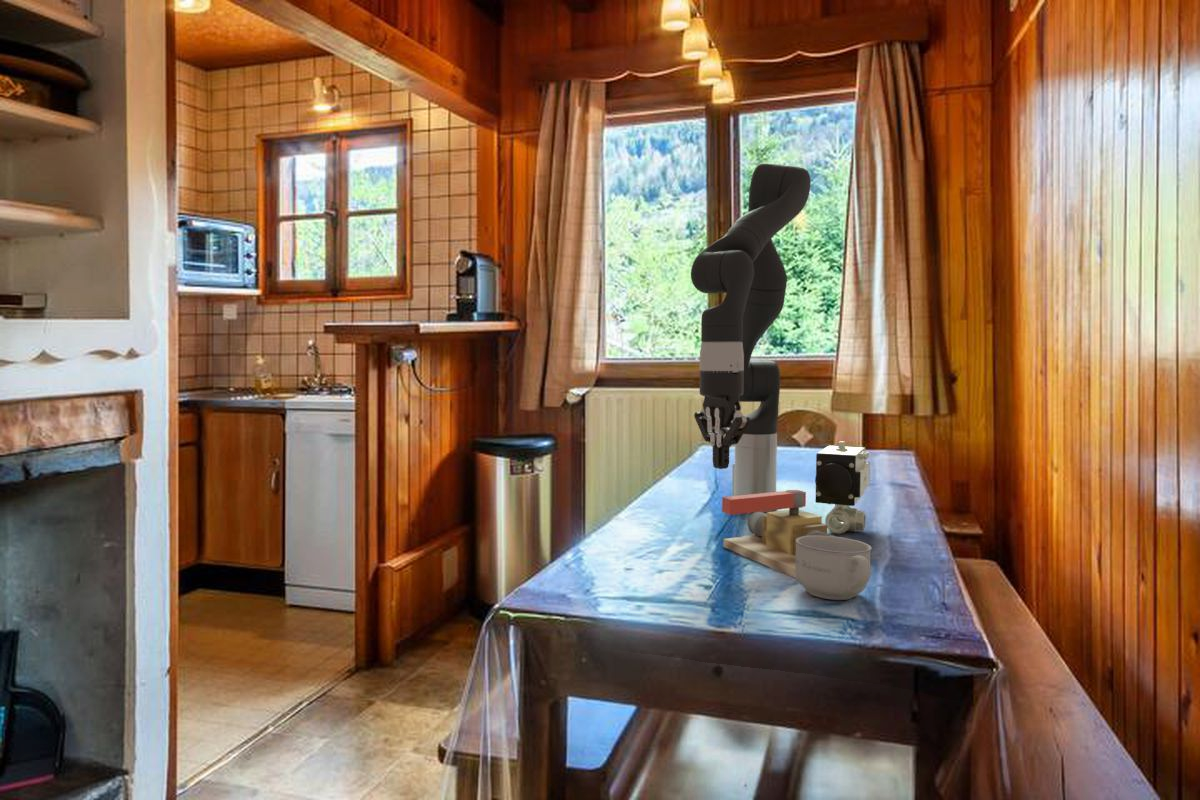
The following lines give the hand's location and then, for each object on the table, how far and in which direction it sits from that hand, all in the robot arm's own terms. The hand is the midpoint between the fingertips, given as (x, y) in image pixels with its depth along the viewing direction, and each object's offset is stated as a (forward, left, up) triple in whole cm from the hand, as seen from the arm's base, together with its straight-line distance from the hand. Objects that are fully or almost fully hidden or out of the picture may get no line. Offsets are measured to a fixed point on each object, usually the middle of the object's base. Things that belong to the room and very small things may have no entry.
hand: (720, 468), depth 135 cm
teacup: (+26, +3, -16) cm, 30 cm away
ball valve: (-5, +32, -16) cm, 36 cm away
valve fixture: (+6, +11, -16) cm, 20 cm away
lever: (+6, +5, -7) cm, 10 cm away
